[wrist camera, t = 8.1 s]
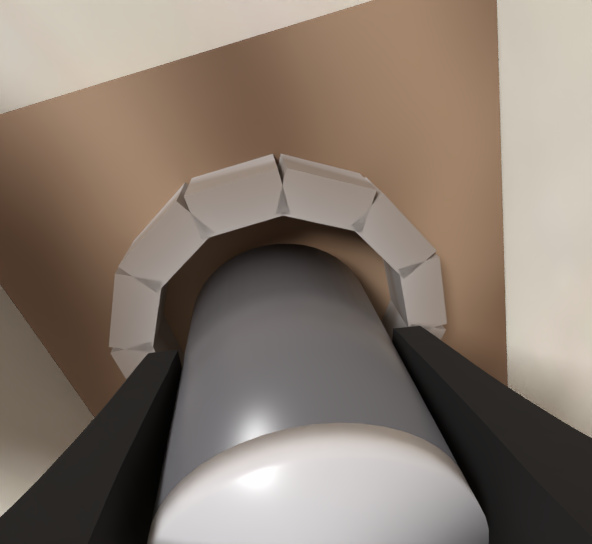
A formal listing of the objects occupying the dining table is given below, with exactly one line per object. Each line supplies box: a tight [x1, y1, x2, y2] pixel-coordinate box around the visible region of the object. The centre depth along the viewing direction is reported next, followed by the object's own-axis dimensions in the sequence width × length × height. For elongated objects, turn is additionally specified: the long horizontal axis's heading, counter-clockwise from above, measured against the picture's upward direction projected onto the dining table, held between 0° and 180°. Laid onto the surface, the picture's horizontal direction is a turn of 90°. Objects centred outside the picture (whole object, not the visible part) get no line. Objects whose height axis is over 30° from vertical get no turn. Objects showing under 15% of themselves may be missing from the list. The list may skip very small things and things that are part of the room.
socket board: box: [0, 0, 508, 417], centre depth 11 cm, size 13×13×2 cm
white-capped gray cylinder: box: [147, 244, 489, 544], centre depth 8 cm, size 5×5×6 cm
